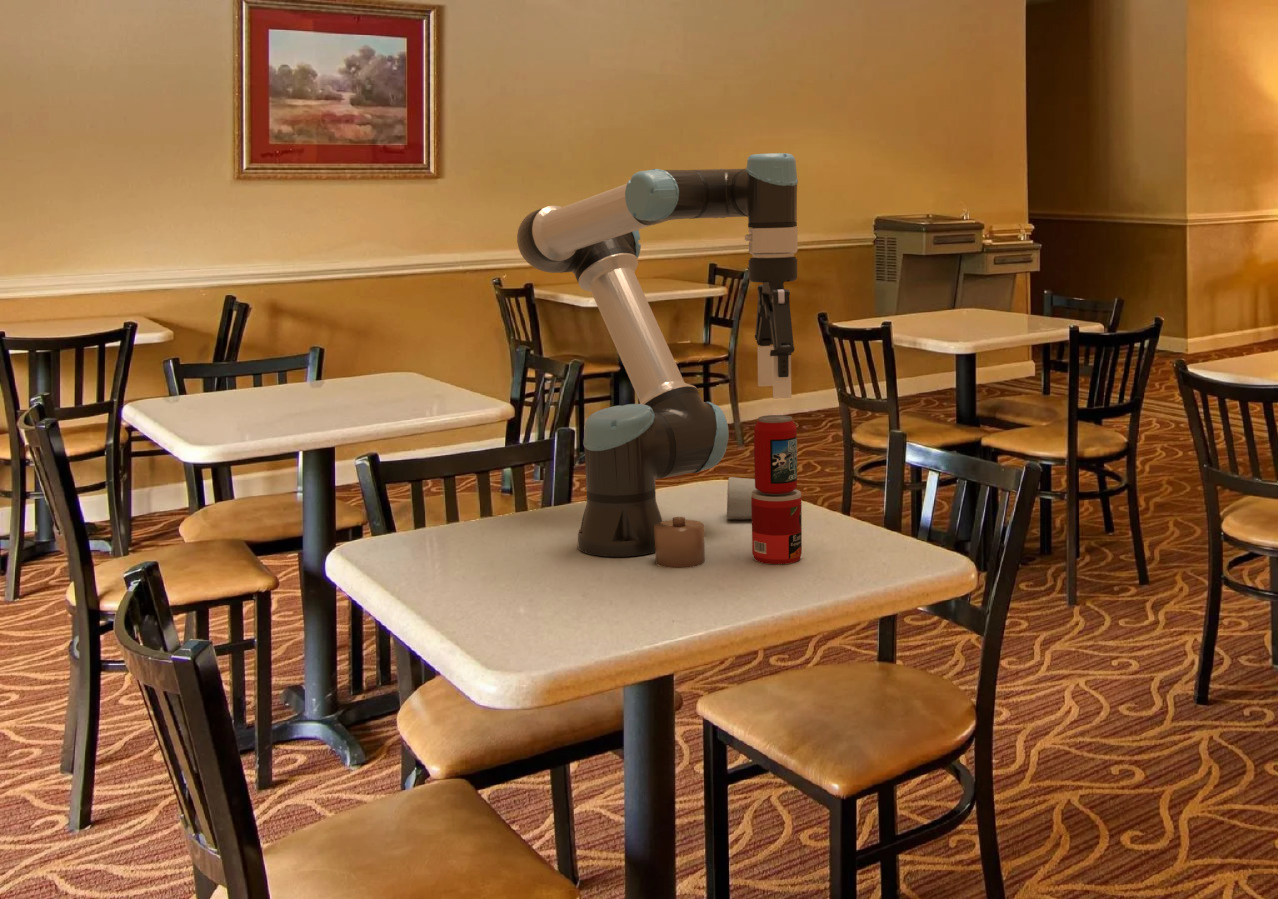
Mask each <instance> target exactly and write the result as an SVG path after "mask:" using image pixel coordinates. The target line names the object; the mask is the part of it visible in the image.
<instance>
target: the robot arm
mask: <svg viewBox="0 0 1278 899" xmlns="http://www.w3.org/2000/svg"><path fill="white" fill-rule="evenodd" d="M797 173H798V172H797V161H796V157H795V156H794V154H791V153H788V152H787V153H786V152H785V153H784V152H783V153H782V152H780V153H779V152H777V153H775V152H774V153H773V152H772V153H757V154H750V155H749V156H748V157H747V162H746V167H745V168H720V169H719V168H715V169H714V168H711V169H660V168H654V169H649V170H640V171H637V172H635V173H634V174H632V175H631V178H630V179H629V180H628V181H627V183H625V184H622V185H619V186H616V187H614V188H612V189H608V190H606V191H603V192H600V193H597V194H595V195H592V196H590V197H587V198H584V199H581V200H578V201H576V202H573V203H570V204H568V205H567V204H566V205H565V206H560V205H548V206H544V207H542V208H539V209H536V210H534V211H531V212H530V213H529V214H527V215H526V216H525V217H524V218H523V219H522V220H521V223H519V224H520V225H519V227H518V229H517V234H516V241H517V248H518V250H519V251H518V252H519V253H520V255H521V256H522V258H523V260H525V262H526V263H528V265H530V266H531V267H533V268H534V269H536V270H538V271H542V272H545V273H550V274H555V273H557V274H558V273H560V274H561V273H562V274H563V273H572V274H573V275H574V276H575V279H576V282H577V284H578V286H579V288H580V289H581V290H583V291H586V292H589V293H591V294H592V297H593V299H594V301H595V303H596V306H597V308H598V311H599V313H600V315H601V318H602V320H603V321H604V322H603V323H605V326H606V329H607V330H608V333H609V336H610V337H611V340H612V342H613V344H614V346H615V349H616V351H617V354H618V356H619V359H620V360H621V362H622V365H623V367H624V369H625V372H626V374H627V376H628V379H629V380H630V383H631V385H632V388H633V389H634V392H635V394H636V396H637V398H638V401H639V403H628V404H624V405H614V406H610V407H605V408H602V409H599V410H597V411H595V412H593V413H591V414H589V416H588V417H587V419H586V420H585V422H584V432H583V435H584V436H583V440H582V443H583V447H584V464H585V465H584V466H585V486H586V487H585V491H586V505H585V508H584V512H583V515H582V519H581V525H580V529H579V530H578V533H577V548H578V549H579V551H580V552H583V553H585V554H588V555H593V556H600V557H608V558H609V557H611V558H612V557H614V558H616V557H618V558H619V557H622V558H623V557H636V556H642V555H643V556H645V555H648V554H653V553H655V535H654V525H655V524H657V523H659V522H663V519H662V518H663V517H662V515H661V512H660V509H659V506H658V503H657V498H656V497H657V496H656V480H658V479H659V480H660V479H665V478H671V477H675V476H681V475H687V474H697V473H700V472H701V471H705V470H708V469H712V468H714V467H715V466H717V465H718V464H719V463H720V462H721V460H723V458H724V456H725V454H726V451H727V449H728V442H729V436H730V435H729V433H730V432H729V425H728V420H727V417H726V415H725V413H724V411H723V410H722V408H721V407H719V405H718V404H715V403H713V402H710V401H705V402H704V401H703V399H702V397H701V394H700V393H699V390H698V388H697V387H696V386H695V385H692V384H691V383H686V382H685V380H684V378H683V376H682V373H681V372H680V369H679V367H678V365H677V363H676V361H675V359H674V356H673V354H672V352H671V349H670V348H669V345H668V344H667V341H666V338H665V337H664V334H663V332H662V331H661V328H660V326H659V324H658V322H657V319H656V317H655V315H654V312H653V310H652V308H651V306H650V304H649V302H648V300H647V297H646V296H645V295H646V294H645V293H644V291H643V288H642V285H641V284H640V282H639V280H638V278H637V275H636V273H635V272H636V270H637V268H638V265H639V257H640V254H641V247H642V244H641V243H640V242H639V241H640V240H641V234H640V231H639V230H641V229H645V228H649V227H650V226H655V225H657V224H658V225H659V224H661V223H664V222H668V221H673V220H674V221H675V220H687V219H688V220H691V219H719V218H720V219H725V218H743V217H745V218H746V217H747V221H748V223H747V228H748V234H745V235H744V240H745V242H746V241H747V242H748V253H749V254H750V255H752V257H750V258H749V259H748V279H749V280H748V281H750V282H752V283H762V284H757V288H756V289H757V304H756V307H757V309H756V318H755V319H756V320H755V333H754V339H755V341H756V344H757V387H772V399H792V354H793V353H794V352H795V345H794V334H793V326H792V316H791V305H790V295H791V291H790V290H789V289H788V288H786V289H785V286H784V284H785V283H786V282H787V283H789V282H795V281H796V280H797V279H798V258H797V257H796V256H795V254H797V253H798V222H797V221H798V220H797V219H798V217H797V214H798V203H797V202H798V196H797V195H798V184H799V183H798V182H799V179H798V174H797Z"/></svg>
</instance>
